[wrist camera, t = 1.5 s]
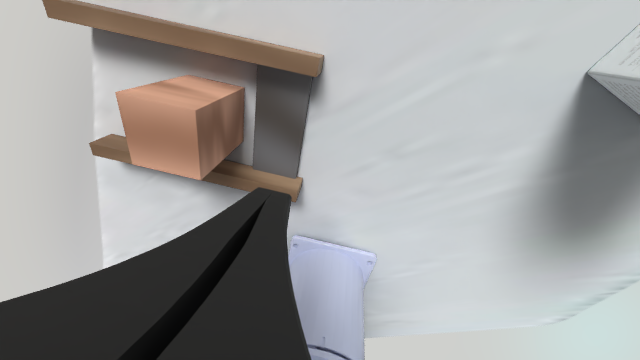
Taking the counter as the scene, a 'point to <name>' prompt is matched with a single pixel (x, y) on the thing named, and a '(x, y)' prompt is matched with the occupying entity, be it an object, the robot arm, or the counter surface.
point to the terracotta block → (182, 124)
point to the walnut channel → (271, 96)
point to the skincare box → (622, 70)
